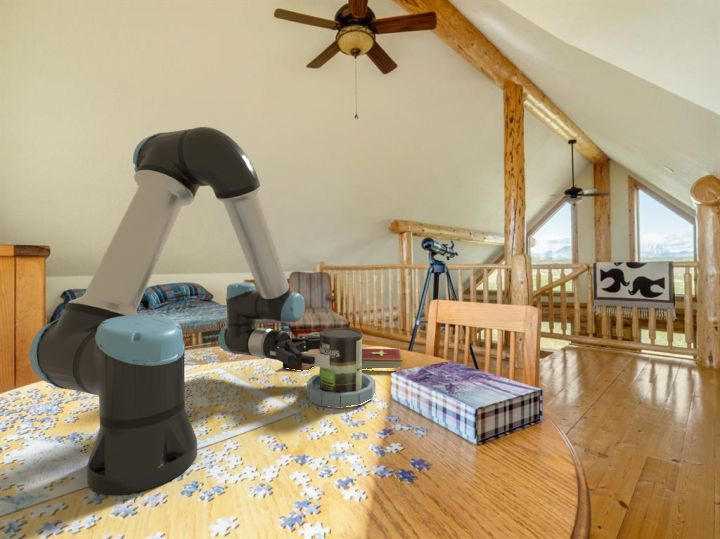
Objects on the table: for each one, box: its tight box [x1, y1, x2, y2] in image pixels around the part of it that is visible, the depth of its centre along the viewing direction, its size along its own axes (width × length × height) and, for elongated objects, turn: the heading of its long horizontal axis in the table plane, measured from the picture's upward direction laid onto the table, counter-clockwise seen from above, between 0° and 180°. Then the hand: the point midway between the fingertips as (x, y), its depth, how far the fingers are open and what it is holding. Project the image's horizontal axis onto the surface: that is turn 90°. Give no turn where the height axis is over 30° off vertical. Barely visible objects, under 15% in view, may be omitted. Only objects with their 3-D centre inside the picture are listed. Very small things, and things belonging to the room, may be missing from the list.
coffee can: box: [319, 327, 364, 393], centre depth 87 cm, size 10×10×14 cm
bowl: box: [306, 372, 376, 407], centre depth 87 cm, size 16×16×3 cm
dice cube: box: [306, 331, 320, 337], centre depth 128 cm, size 5×5×5 cm
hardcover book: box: [362, 347, 403, 369], centre depth 109 cm, size 12×21×4 cm, turn 87°
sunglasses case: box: [282, 349, 320, 371], centre depth 112 cm, size 18×7×7 cm, turn 154°
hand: (342, 353), depth 86 cm, fingers open, 13 cm apart
